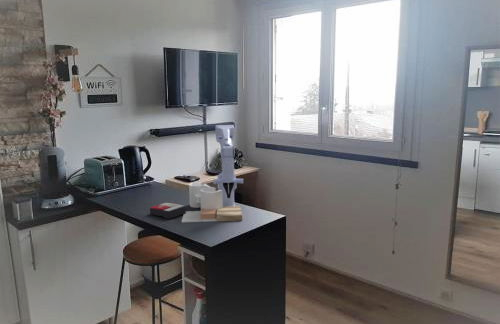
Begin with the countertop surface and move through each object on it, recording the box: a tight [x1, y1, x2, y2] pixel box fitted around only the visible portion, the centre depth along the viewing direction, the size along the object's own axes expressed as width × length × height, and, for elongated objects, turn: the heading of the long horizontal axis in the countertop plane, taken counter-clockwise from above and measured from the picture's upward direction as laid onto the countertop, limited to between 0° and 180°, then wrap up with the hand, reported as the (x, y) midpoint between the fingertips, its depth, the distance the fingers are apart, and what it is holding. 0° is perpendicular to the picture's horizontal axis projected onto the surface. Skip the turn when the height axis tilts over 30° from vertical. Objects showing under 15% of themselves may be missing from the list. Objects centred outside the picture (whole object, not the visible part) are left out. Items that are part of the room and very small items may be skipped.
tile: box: [200, 207, 216, 219], centre depth 195 cm, size 10×7×2 cm
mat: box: [181, 210, 218, 224], centre depth 195 cm, size 16×16×1 cm
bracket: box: [188, 181, 222, 214], centre depth 208 cm, size 25×10×12 cm, turn 32°
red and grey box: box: [149, 202, 187, 220], centre depth 200 cm, size 11×4×15 cm
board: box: [216, 205, 243, 222], centre depth 196 cm, size 16×12×2 cm
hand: (228, 197), depth 196 cm, fingers closed
